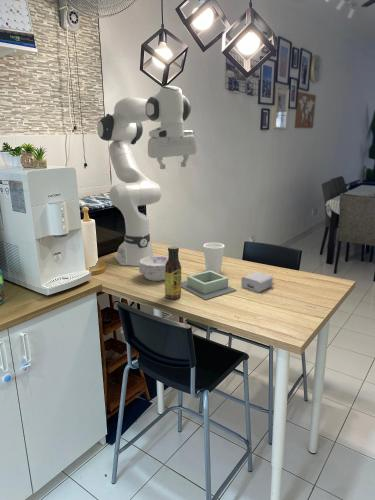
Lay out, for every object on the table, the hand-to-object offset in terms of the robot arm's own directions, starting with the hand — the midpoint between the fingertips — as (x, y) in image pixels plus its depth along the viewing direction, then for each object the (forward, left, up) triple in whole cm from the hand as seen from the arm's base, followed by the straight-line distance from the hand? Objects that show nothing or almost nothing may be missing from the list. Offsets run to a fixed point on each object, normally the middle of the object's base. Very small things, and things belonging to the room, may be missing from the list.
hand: (173, 167), depth 152 cm
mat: (+14, +6, -48) cm, 50 cm away
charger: (+25, +27, -48) cm, 61 cm away
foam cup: (+2, +20, -48) cm, 52 cm away
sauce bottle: (+14, -10, -48) cm, 51 cm away
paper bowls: (-8, -4, -48) cm, 49 cm away
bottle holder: (+14, +7, -48) cm, 50 cm away
